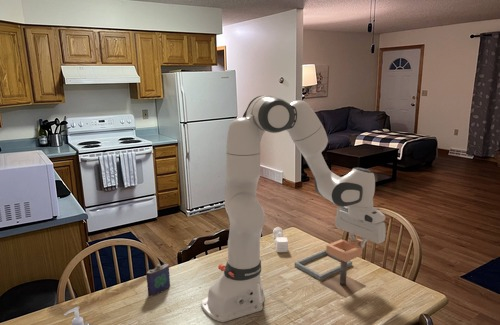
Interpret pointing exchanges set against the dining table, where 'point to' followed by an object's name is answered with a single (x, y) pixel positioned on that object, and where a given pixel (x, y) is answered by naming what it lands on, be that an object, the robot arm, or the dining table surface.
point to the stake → (343, 282)
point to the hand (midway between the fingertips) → (357, 245)
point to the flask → (158, 279)
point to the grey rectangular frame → (314, 274)
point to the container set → (280, 240)
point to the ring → (351, 248)
